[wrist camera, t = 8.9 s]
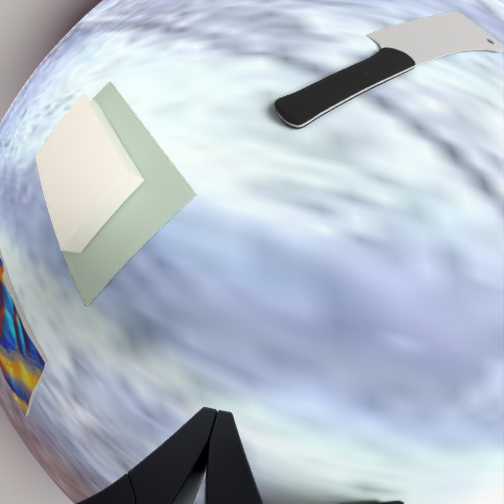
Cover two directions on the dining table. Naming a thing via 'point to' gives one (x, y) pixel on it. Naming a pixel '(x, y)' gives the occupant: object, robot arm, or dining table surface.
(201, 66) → the dining table surface
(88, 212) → the standing glazed tile
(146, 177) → the sage rubber mat
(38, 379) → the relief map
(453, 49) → the kitchen cleaver
